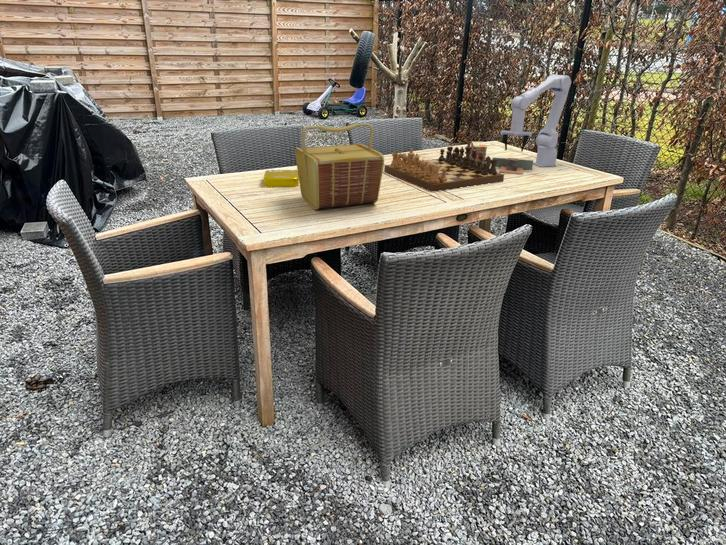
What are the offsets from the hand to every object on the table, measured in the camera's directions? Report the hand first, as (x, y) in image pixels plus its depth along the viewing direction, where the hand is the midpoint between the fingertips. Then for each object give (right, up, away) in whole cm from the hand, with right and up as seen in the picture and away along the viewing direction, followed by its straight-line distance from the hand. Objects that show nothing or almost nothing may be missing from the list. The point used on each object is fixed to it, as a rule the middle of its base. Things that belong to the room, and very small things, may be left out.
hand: (513, 150), depth 255 cm
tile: (-1, -10, 0) cm, 10 cm away
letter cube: (-1, -9, 0) cm, 9 cm away
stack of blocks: (-17, -6, +10) cm, 21 cm away
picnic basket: (-85, -33, -50) cm, 104 cm away
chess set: (-37, -15, -11) cm, 42 cm away
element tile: (-111, -21, -25) cm, 116 cm away
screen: (+1, -7, +6) cm, 10 cm away
